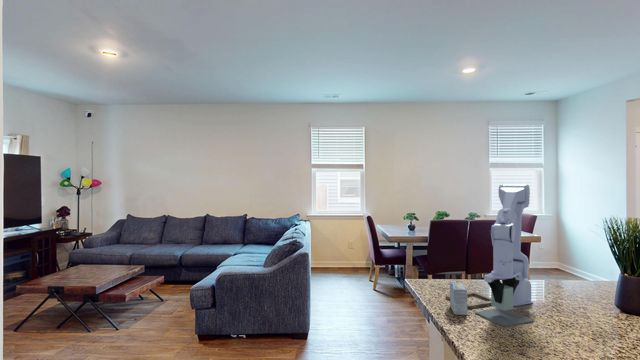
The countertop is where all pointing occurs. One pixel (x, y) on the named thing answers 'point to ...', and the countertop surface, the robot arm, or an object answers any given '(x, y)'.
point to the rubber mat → (504, 317)
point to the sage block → (504, 299)
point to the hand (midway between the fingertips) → (503, 301)
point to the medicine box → (458, 298)
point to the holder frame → (476, 305)
